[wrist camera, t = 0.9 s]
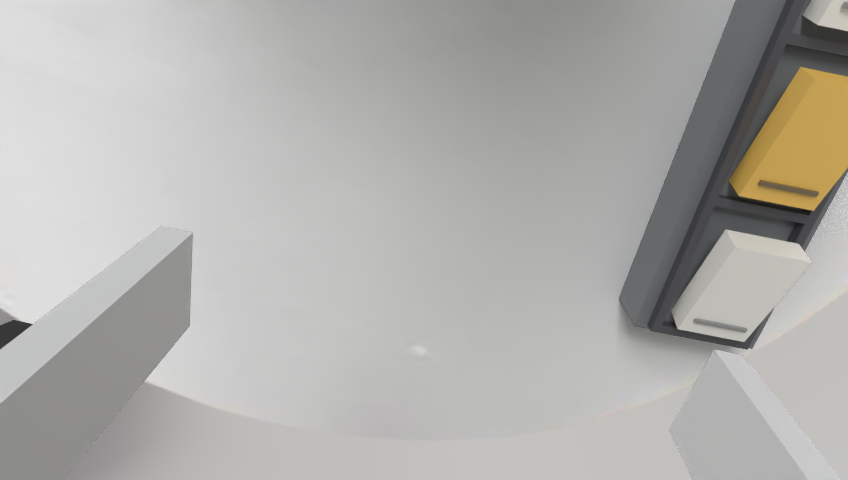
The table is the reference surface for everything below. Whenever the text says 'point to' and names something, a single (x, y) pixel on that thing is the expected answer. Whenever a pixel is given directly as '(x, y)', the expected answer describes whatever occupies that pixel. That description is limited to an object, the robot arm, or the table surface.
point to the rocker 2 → (828, 13)
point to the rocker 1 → (739, 285)
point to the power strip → (729, 159)
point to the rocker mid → (799, 144)
